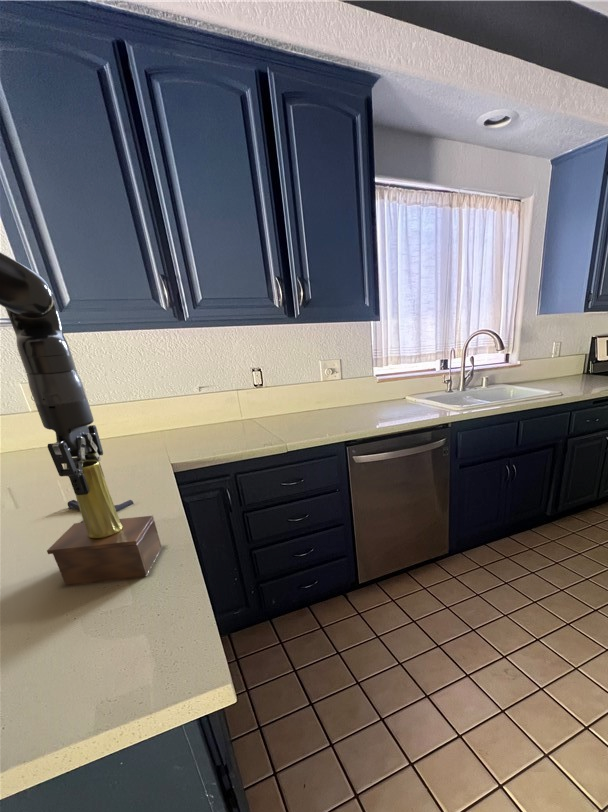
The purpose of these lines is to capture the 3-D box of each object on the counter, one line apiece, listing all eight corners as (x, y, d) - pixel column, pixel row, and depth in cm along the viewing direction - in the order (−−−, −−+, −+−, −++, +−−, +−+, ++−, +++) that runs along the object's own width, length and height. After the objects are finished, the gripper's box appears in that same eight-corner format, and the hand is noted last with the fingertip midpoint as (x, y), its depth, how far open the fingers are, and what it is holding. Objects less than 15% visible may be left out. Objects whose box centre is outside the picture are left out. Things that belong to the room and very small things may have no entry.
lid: (48, 554, 79) (46, 550, 79) (75, 526, 90) (74, 523, 89) (137, 544, 82) (135, 541, 82) (153, 518, 92) (152, 515, 92)
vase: (110, 522, 89) (88, 457, 83) (129, 528, 87) (108, 461, 81) (80, 535, 84) (55, 466, 78) (100, 541, 82) (75, 471, 76)
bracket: (95, 499, 123) (92, 490, 122) (134, 505, 118) (131, 496, 117) (45, 520, 111) (41, 510, 110) (86, 528, 106) (82, 518, 105)
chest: (66, 588, 83) (52, 553, 80) (91, 557, 93) (79, 526, 90) (147, 578, 85) (137, 544, 82) (162, 550, 96) (153, 519, 92)
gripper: (57, 392, 80) (85, 476, 87) (13, 408, 67) (50, 504, 74) (100, 390, 81) (125, 472, 89) (65, 405, 69) (97, 499, 76)
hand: (90, 486), depth 81 cm, fingers open, 6 cm apart
